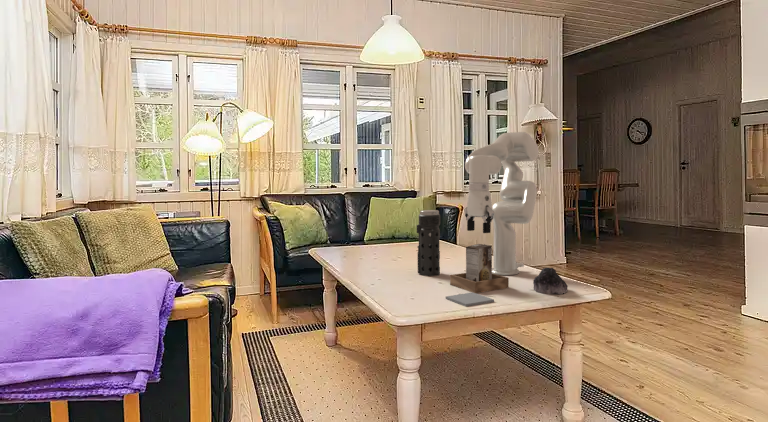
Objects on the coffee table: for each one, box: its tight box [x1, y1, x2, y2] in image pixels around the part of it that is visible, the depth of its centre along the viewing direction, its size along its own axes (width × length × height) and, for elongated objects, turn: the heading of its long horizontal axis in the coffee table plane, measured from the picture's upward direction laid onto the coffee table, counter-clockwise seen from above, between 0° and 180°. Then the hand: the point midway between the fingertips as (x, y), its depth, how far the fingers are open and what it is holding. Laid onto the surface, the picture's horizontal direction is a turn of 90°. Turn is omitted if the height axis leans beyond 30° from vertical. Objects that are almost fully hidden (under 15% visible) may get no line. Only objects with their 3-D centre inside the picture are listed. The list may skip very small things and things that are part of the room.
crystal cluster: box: [532, 267, 568, 295], centre depth 190 cm, size 13×14×10 cm
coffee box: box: [465, 243, 493, 282], centre depth 198 cm, size 9×6×16 cm
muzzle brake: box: [416, 209, 441, 277], centre depth 222 cm, size 10×28×10 cm
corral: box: [449, 272, 510, 294], centre depth 198 cm, size 16×16×4 cm
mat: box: [445, 292, 495, 307], centre depth 177 cm, size 12×12×1 cm
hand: (478, 231), depth 196 cm, fingers open, 9 cm apart
